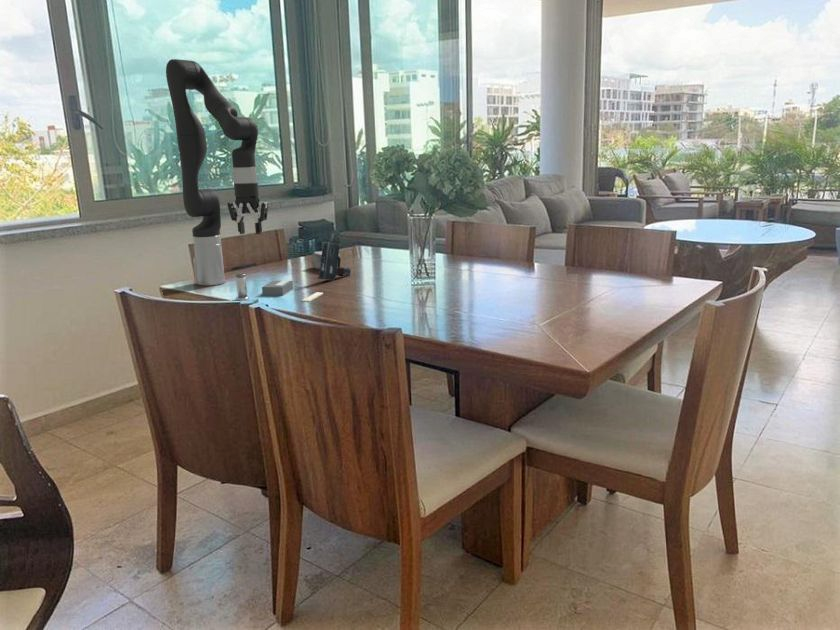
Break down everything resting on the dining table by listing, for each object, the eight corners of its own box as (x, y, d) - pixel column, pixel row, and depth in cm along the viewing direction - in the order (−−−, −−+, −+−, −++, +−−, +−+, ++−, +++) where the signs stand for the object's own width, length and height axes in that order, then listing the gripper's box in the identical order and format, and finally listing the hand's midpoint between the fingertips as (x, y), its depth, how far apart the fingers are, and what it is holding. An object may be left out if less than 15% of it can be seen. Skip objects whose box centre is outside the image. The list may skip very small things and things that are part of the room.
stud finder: (262, 296, 212) (261, 286, 212) (273, 289, 222) (273, 279, 221) (283, 296, 211) (282, 286, 210) (293, 289, 221) (292, 279, 220)
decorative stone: (324, 266, 263) (305, 269, 255) (323, 249, 261) (304, 251, 253) (350, 270, 254) (331, 273, 246) (349, 252, 252) (331, 255, 244)
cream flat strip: (302, 301, 203) (302, 300, 203) (316, 293, 213) (316, 292, 213) (309, 301, 202) (309, 300, 202) (323, 293, 212) (323, 292, 212)
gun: (355, 237, 239) (328, 231, 227) (350, 282, 240) (322, 279, 228) (350, 237, 241) (322, 231, 228) (344, 281, 242) (317, 278, 229)
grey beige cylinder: (234, 300, 207) (231, 275, 205) (240, 297, 210) (238, 273, 208) (245, 300, 206) (242, 275, 204) (251, 297, 209) (249, 273, 207)
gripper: (219, 182, 208) (225, 235, 212) (260, 182, 204) (264, 235, 208) (232, 181, 215) (236, 232, 219) (271, 180, 211) (275, 232, 215)
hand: (250, 233), depth 214 cm, fingers open, 5 cm apart
